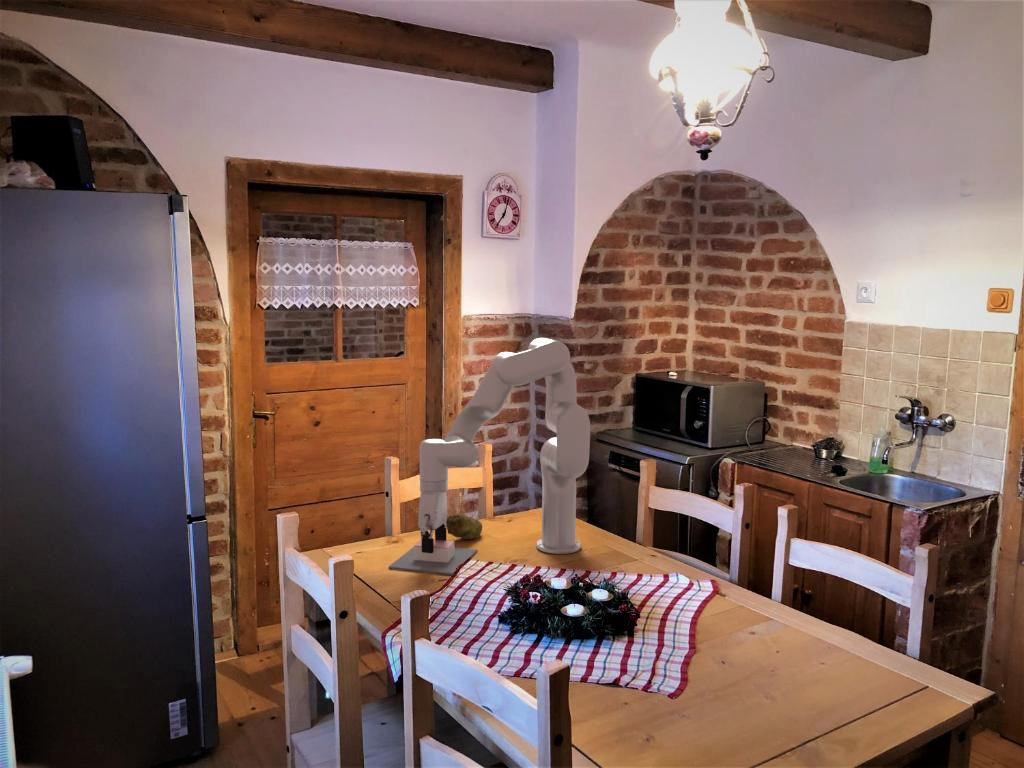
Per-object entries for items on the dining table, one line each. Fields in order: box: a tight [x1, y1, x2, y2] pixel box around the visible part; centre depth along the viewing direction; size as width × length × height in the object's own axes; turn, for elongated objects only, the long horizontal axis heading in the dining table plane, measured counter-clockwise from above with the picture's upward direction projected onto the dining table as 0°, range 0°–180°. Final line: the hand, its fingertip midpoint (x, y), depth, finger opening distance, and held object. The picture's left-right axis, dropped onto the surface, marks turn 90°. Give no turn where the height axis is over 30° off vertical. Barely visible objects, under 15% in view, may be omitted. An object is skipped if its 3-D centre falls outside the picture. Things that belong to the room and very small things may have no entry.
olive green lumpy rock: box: [446, 513, 483, 540], centre depth 242 cm, size 8×13×8 cm, turn 122°
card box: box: [413, 538, 456, 563], centre depth 224 cm, size 10×6×4 cm, turn 78°
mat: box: [388, 546, 478, 576], centre depth 224 cm, size 20×18×1 cm
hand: (434, 547), depth 223 cm, fingers open, 9 cm apart
